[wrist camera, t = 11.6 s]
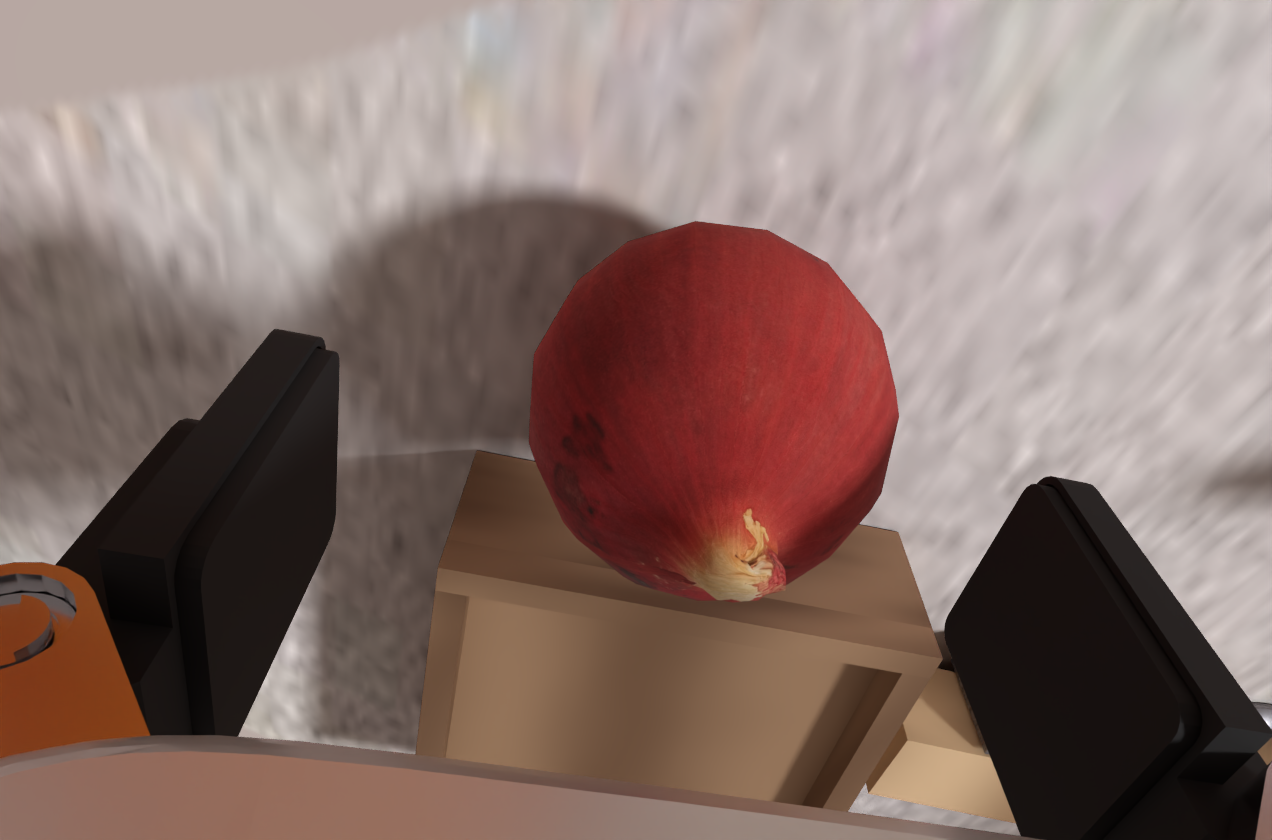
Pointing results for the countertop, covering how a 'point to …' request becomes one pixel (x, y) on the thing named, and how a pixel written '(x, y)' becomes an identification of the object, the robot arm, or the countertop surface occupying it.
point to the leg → (947, 757)
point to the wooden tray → (664, 660)
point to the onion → (712, 411)
